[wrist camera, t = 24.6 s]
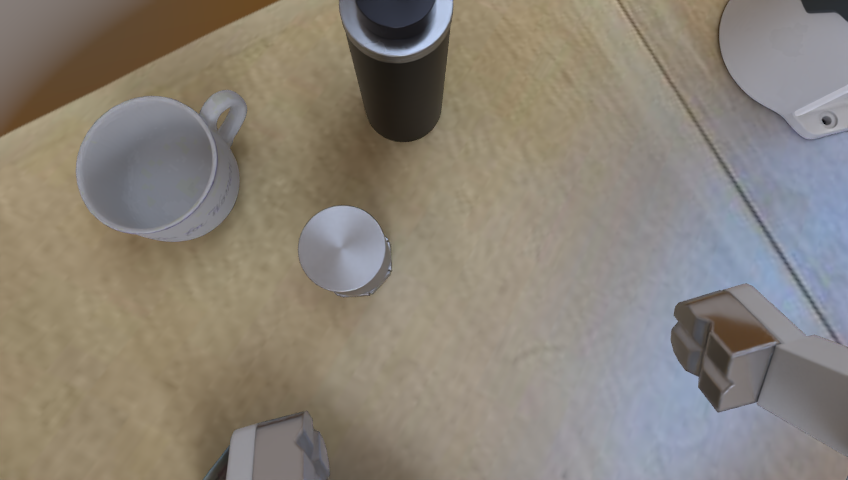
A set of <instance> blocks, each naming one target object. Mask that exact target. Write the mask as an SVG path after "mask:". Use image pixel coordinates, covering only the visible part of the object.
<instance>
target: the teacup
mask: <svg viewBox="0 0 848 480" xmlns="http://www.w3.org/2000/svg"><path fill="white" fill-rule="evenodd" d="M228 108H230V110H229V113H228V115H227V117H226V119H225V121H224V122H223V124H222V125H221V127H220V128H219V129H217V120H218V118H219V116H220V115H221V114H222V113H223V112H224V111H225V110H226V109H228ZM246 113H247V105H246V103H245V101H244V99H243V98H242V97H241V96H240V95H238V94H237V93H236V92H234V91H231V90H222V91H219V92H217V93H215V94H213V95H212V96H211V97H210V98H209V99H207V101H206V102H205V103H204V105H203V107H202V109H201V111H200V113H199V114H198V113H197V112H195V111H194V110H193V109H192V108H190V107H189V106H187V105H185V104H183V103H181V102H179V101H177V100H174V99H171V98H166V97H161V96H144V97H138V98H134V99H131V100H128V101H125V102H123V103H121V104H119V105H117V106H114V107H113V108H111V109H110V110H108V111H107V112H106V113H105V114H103V115H102V116H101V117H100V118H99V119H98V120H97V121H96V122H95V123H94V124H93V126H92V127H91V128H90V130H89V131H88V132H87V134H86V136H85V138H84V140H83V142H82V144H81V146H80V150H79V152H78V157H77V163H76V178H77V185H78V188H79V191H80V194H81V197H82V199H83V201H84V203H85V205H86V206H87V208H88V209H89V211H90V212H91V213H92V214H93V215H94V216H95V217H96V218H97V219H98V220H100V221H101V222H102V223H104V224H105V225H107V226H108V227H110V228H112V229H115V230H117V231H120V232H124V233H129V234H136V235H139V236H142V237H146V238H150V239H154V240H159V241H167V242H179V241H187V240H192V239H195V238H198V237H200V236H203V235H205V234H207V233H209V232H210V231H212V230H213V229H215V228H216V227H217V226H218V225H219V224H221V223H222V221H223V220H224V219H225V218H226V217H227V216H228V214H229V213H230V211H231V210H232V208H233V206H234V204H235V201H236V199H237V196H238V191H239V183H240V175H239V169H238V165H237V162H236V159H235V157H234V155H233V153H232V151H231V149H230V147H231V145H232V143H233V139H234V137H235V135H236V134H237V132H238V131H239V129H240V127H241V125H242V124H243V122H244V120H245V117H246ZM217 130H218V131H217Z"/></svg>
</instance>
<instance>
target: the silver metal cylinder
mask: <svg viewBox="0 0 848 480" xmlns="http://www.w3.org/2000/svg"><path fill="white" fill-rule="evenodd" d="M298 255H299V260H300V264H301V266H302V268H303V270H304V272H305V273H306V275H307V276H308V277H309V278H310V279H311V281H313V282H314V283H315V284H316V285H318V286H320V287H322V288H324V289H326V290H329V291H332V292H334V293H335V294H336V295H337V296H340V297H358V296H370V293H371V294H374V293H375V291H376V290H377V289H378V288H379V287H380V286H381V285H382V284H383V282H384V281H385V280H386V279H387V278H388V277H389V276H390V275H391V273H390V271H392V261H391V244H390V242H389V240H388V239H387V238H386V237H385V236H384V233H383V231H382V229H381V227H380V225H379V224H378V222H377V221H376V220H375V219H374V218H373V217H372V216H371V215H370V214H369V213H367V212H366V211H364V210H362V209H360V208H357V207H354V206H348V205H338V206H332V207H329V208H326V209H324V210H322V211H320V212H318V213H317V214H316V215H314V216H313V217H312V218H311V219H310V220H309V221H308V223H307V224H306V225H305V227H304V229H303V231H302V233H301V235H300V239H299V244H298Z"/></svg>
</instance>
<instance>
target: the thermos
mask: <svg viewBox="0 0 848 480" xmlns="http://www.w3.org/2000/svg"><path fill="white" fill-rule="evenodd" d="M339 10H340V16H341V20H342V24H343V27H344V30H345V32H346V36H347V40H348V44H349V48H350V52H351V56H352V60H353V64H354V68H355V72H356V76H357V80H358V84H359V87H360V91H361V95H362V99H363V103H364V107H365V111H366V115H367V118H368V120H369V122H370V124H371V126H372V127H373V128H374V129H375V130H376V131H377V132H378V133H379V134H380V135H382V136H383V137H385V138H387V139H390V140H393V141H398V142H409V141H414V140H417V139H420V138H422V137H423V136H425V135H426V134H428V133H429V132H430V131H431V130H432V129H433V128H434V127H435V125H436V124H437V122H438V120H439V117H440V114H441V108H442V99H443V90H444V81H445V71H446V62H447V53H448V44H449V35H450V26H451V22H452V15H453V0H339Z"/></svg>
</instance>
